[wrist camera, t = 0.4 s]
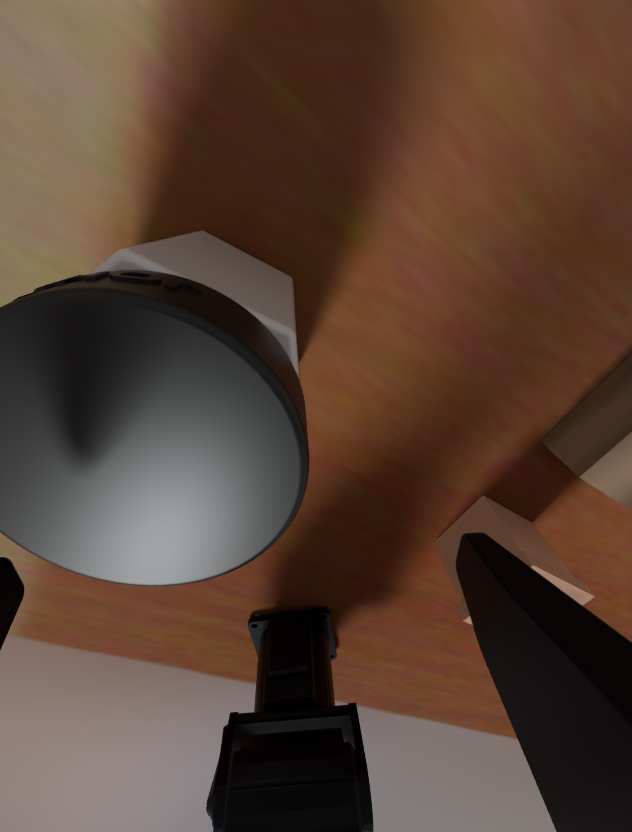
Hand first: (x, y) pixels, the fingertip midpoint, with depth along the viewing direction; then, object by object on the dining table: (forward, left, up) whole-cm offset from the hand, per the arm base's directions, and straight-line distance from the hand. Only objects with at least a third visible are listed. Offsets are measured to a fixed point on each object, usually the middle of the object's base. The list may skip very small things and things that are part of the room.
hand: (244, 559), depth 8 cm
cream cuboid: (-16, -13, -14) cm, 24 cm away
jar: (+1, +2, -14) cm, 14 cm away
